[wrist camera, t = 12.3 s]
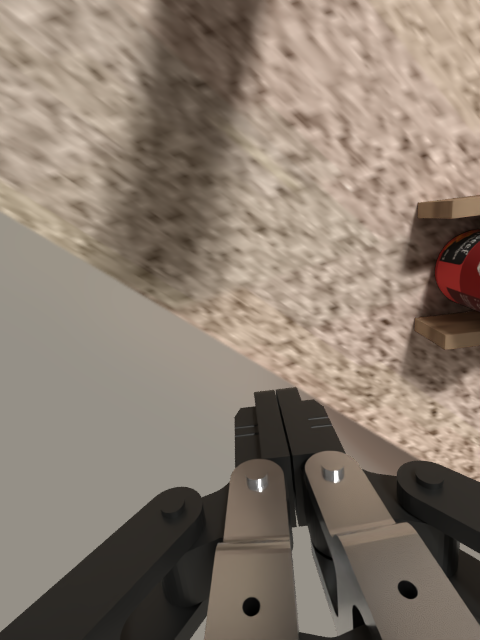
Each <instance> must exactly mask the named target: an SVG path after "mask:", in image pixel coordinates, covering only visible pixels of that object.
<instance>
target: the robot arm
mask: <svg viewBox="0 0 480 640" xmlns="http://www.w3.org/2000/svg"><path fill="white" fill-rule="evenodd" d="M254 397H255V405H256V406H255V407H246V408H241V409H240V410H239V411H238V413H237V415H236V416H235V469H234V471H233V472H232V474H231V478H230V482H229V483H228V484H227V485H226V486H225V487H223V488H222V489H220V490H219V491H217V492H214V493H212V494H209V495H207V496H204V497H202V498H201V496H200V494H199V493H198V492H197V491H195V490H194V489H191V488H188V487H176V488H171V489H168V490H166V491H164V492H162V493H160V494H159V495H157V496H156V497H155V498H153V500H151V501H150V502H149V503H148V504H147V505H146V506H144V507H143V508H142V509H141V510H140V511H139V512H138V513H136V514H135V515H134V516H133V517H132V518H131V519H129V520H128V521H127V522H126V523H125V524H124V525H123V526H121V527H120V528H119V529H118V530H117V531H116V532H115V533H113V534H112V535H111V536H110V537H109V538H108V539H106V540H105V541H104V542H103V543H102V544H101V545H100V546H98V547H97V548H96V549H95V550H94V551H93V552H92V553H90V554H89V555H88V556H87V557H86V558H85V559H84V560H82V561H81V562H80V563H79V564H78V565H77V566H76V567H75V568H73V569H72V570H71V571H70V572H69V573H68V574H67V575H65V576H64V577H63V578H62V579H61V580H60V581H58V582H57V583H56V584H55V585H54V586H53V587H52V588H50V589H49V590H48V591H47V592H46V593H45V594H44V595H42V596H41V597H40V598H39V599H38V600H37V601H36V602H35V603H33V604H32V605H31V606H30V607H29V608H28V609H26V610H25V611H24V612H23V613H22V614H21V615H20V616H18V617H17V618H16V619H15V620H14V621H13V622H12V623H10V624H9V625H8V626H7V627H6V628H5V629H3V630H2V631H1V632H0V640H190V638H191V637H192V636H193V634H194V633H195V631H196V630H197V629H198V627H199V626H200V624H201V623H202V622H203V620H204V619H205V617H206V616H207V620H206V628H205V636H204V640H480V561H479V560H477V559H476V558H474V557H472V556H470V555H469V554H467V553H465V552H464V551H462V550H460V549H459V547H460V543H462V544H464V545H466V546H468V547H469V548H471V549H473V550H474V551H476V552H478V553H480V482H478V481H476V480H473V479H471V478H469V477H467V476H464V475H462V474H460V473H458V472H455V471H453V470H451V469H448V468H446V467H444V466H442V465H439V464H436V463H433V462H428V461H412V462H408V463H405V464H403V465H402V466H401V467H400V468H399V469H398V472H397V476H391V475H382V474H376V473H371V472H368V471H365V470H363V469H361V467H360V465H359V464H358V463H357V461H356V460H355V459H354V458H352V457H351V456H349V455H347V454H346V453H345V451H344V449H343V447H342V445H341V443H340V441H339V438H338V436H337V434H336V432H335V430H334V428H333V426H332V424H331V421H330V419H329V418H328V415H327V413H326V411H325V409H324V407H323V406H322V405H320V404H319V403H318V402H316V401H315V400H305V401H301V398H300V395H299V393H298V390H297V388H296V387H293V388H286V389H277V390H276V395H275V391H274V390H269V391H260V392H254ZM295 510H296V515H297V520H298V524H299V526H308V528H309V533H310V538H311V550H312V556H313V559H314V562H315V565H316V568H317V571H318V574H319V577H320V581H321V584H322V587H323V590H324V593H325V596H326V600H327V603H328V606H329V609H330V612H331V615H332V619H333V622H334V625H335V628H336V632H337V637H332V638H328V637H322V636H317V635H312V634H306V633H301V632H299V625H298V613H297V604H296V592H295V581H294V571H293V560H292V549H293V536H292V527H297V526H296V516H295Z"/></svg>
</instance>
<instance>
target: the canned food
mask: <svg viewBox="0 0 480 640" xmlns="http://www.w3.org/2000/svg"><path fill="white" fill-rule="evenodd" d="M435 278H436V282H437V285H438V287H439V288H440V290H441V291H442V293H443V294H444V295H445V296H446V297H447V298H448V299H450V300H452V301H453V302H456V303H458V304H461V305H463V306H466V307H468V308H471V309H473V310H476V311H478V312H480V229H478V230H471V231H468V232H465V233H463V234H460V235H458V236H457V237H455V238H453V239H452V240H451V241H450V242H448V244H447V245H446V246H445V247H444V248H443V250H442V251H441V253H440V254H439V257H438V259H437V262H436V266H435Z"/></svg>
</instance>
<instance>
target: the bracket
mask: <svg viewBox="0 0 480 640" xmlns="http://www.w3.org/2000/svg"><path fill="white" fill-rule="evenodd" d="M477 215H480V195H477V196H469V197H461V198H453V199H445V200H437V201H429V202H421V203H418V218H448V219H453V218H461V217H469V216H477ZM415 331H416V332H418V333H419V334H421V335H423V336H424V337H426V338H427V339H429V340H430V341H432V342H433V343H435V344H437V345H438V346H440V347H441V348H443V349H444V350H448V349H456V348H464V347H473V346H480V312H478V311H469V312H461V313H453V314H444V315H436V316H428V317H419V318H415Z"/></svg>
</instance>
